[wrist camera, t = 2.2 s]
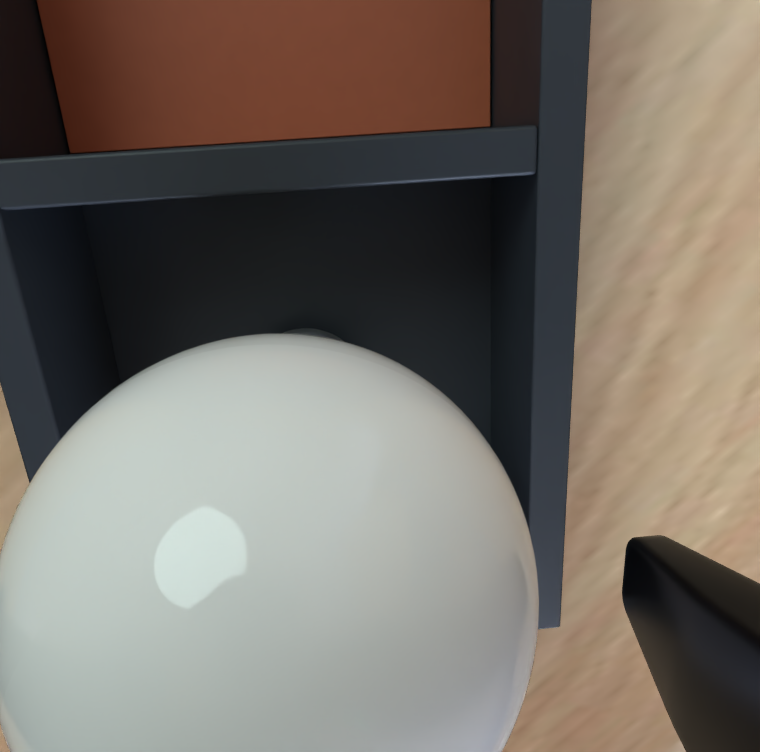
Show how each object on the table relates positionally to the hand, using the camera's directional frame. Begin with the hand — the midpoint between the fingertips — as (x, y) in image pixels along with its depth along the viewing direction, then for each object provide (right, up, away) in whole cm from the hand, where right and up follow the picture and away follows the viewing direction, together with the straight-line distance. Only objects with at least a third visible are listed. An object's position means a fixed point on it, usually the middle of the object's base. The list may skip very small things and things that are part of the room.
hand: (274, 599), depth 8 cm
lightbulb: (0, +3, +8) cm, 8 cm away
